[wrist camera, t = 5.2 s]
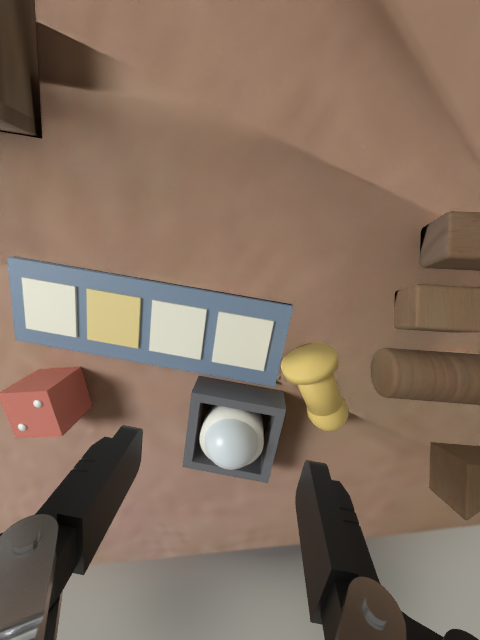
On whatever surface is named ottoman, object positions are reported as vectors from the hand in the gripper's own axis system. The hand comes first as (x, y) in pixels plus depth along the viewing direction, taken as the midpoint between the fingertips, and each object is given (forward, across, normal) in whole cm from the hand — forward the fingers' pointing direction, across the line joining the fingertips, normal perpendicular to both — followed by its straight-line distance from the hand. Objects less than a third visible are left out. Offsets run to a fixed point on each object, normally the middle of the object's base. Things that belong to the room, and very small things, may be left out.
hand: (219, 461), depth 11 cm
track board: (+14, +8, 0) cm, 16 cm away
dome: (+13, -1, +8) cm, 16 cm away
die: (+14, +16, +8) cm, 23 cm away
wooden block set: (+10, -11, -3) cm, 15 cm away
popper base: (+14, -1, +8) cm, 16 cm away
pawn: (+11, -5, 0) cm, 13 cm away
